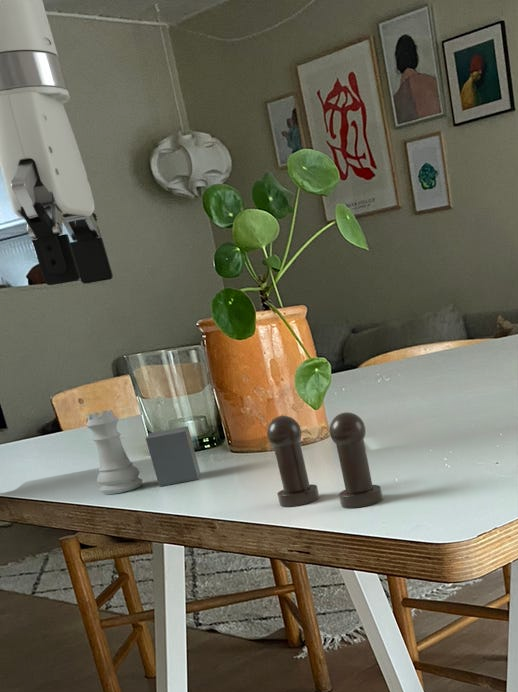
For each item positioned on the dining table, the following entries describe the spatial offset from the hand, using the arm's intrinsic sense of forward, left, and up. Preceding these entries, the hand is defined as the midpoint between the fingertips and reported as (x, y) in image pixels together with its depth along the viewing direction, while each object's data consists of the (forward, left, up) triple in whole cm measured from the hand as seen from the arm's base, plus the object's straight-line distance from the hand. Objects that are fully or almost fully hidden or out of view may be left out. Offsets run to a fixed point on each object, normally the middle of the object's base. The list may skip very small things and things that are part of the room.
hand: (81, 282), depth 92 cm
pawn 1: (+22, -20, -20) cm, 36 cm away
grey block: (+5, -1, -20) cm, 21 cm away
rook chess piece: (-1, -2, -21) cm, 21 cm away
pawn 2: (+28, -24, -20) cm, 42 cm away
